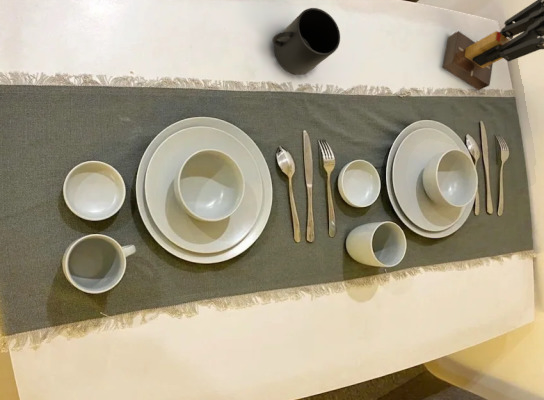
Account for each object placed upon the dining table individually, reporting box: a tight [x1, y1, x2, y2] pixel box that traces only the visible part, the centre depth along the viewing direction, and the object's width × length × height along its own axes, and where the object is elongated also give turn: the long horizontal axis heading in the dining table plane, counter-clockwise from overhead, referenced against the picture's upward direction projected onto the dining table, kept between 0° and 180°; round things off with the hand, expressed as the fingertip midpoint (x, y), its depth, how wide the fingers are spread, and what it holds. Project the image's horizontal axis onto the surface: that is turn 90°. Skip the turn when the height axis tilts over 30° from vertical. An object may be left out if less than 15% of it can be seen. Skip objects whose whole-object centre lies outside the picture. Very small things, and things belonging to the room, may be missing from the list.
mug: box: [271, 7, 341, 76], centre depth 91 cm, size 9×12×9 cm
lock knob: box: [465, 30, 511, 68], centre depth 109 cm, size 6×2×8 cm, turn 70°
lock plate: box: [442, 30, 494, 91], centre depth 114 cm, size 12×10×3 cm
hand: (477, 56), depth 111 cm, fingers closed on lock knob, 2 cm apart
